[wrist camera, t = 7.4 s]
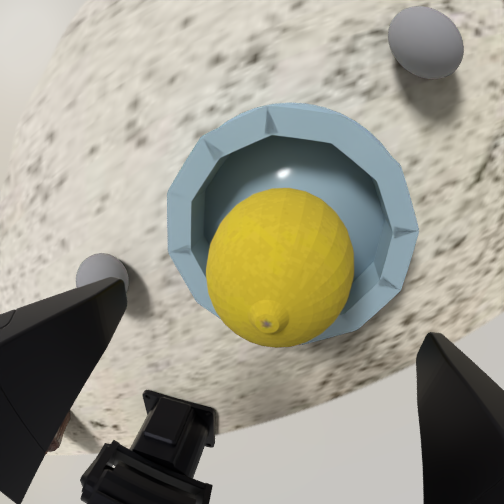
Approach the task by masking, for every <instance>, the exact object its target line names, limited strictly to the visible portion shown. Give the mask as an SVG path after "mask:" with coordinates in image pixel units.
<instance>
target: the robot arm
mask: <svg viewBox="0 0 504 504" xmlns="http://www.w3.org/2000/svg"><path fill="white" fill-rule="evenodd" d="M126 308H127V296H126V289H125V282H124V280H123V279H121V278H117V277H108V278H105V279H102V280H99V281H96V282H93V283H90V284H87V285H84V286H81V287H78V288H75V289H72V290H69V291H66V292H64V293H61V294H58V295H55V296H52V297H49V298H46V299H43V300H40V301H38V302H35V303H32V304H29V305H26V306H23V307H21V308H18V309H16V310H12V311H9V312H6V313H3V314H0V491H1V492H2V493H3V494H4V495H6V496H7V497H8V498H10V499H11V500H12V501H14V502H15V503H16V504H21V502H22V500H23V498H24V496H25V494H26V492H27V490H28V488H29V486H30V484H31V482H32V479H33V478H34V476H35V474H36V472H37V470H38V468H39V466H40V464H41V462H42V460H43V458H44V456H45V454H46V453H45V452H47V450H48V448H49V446H50V445H51V443H52V441H53V439H54V437H55V435H56V433H57V432H58V430H59V428H60V426H61V424H62V423H63V421H64V419H65V417H66V415H67V414H68V412H69V410H70V408H71V407H72V405H73V403H74V401H75V400H76V398H77V396H78V395H79V393H80V391H81V390H82V388H83V386H84V384H85V383H86V381H87V379H88V378H89V376H90V374H91V373H92V371H93V369H94V368H95V366H96V365H97V363H98V361H99V360H100V358H101V356H102V355H103V353H104V352H105V350H106V348H107V346H108V344H109V343H110V341H111V339H112V337H113V334H114V332H115V330H116V328H117V326H118V324H119V322H120V320H121V318H122V316H123V314H124V312H125V310H126ZM416 371H417V405H418V416H419V425H420V435H421V448H422V462H423V492H424V493H423V494H424V504H504V390H503V389H502V388H500V387H499V386H498V385H497V384H496V383H495V382H494V381H493V380H492V379H491V378H490V377H489V376H488V375H487V374H486V373H485V372H483V371H482V370H481V369H480V368H479V367H478V366H477V365H476V364H475V363H474V362H473V361H472V360H471V359H469V358H468V357H467V356H466V355H465V354H464V353H463V352H461V350H459V349H458V348H457V347H456V346H455V345H454V344H453V343H452V342H451V341H449V340H448V339H447V338H446V337H445V336H444V335H443V334H441V333H434V332H430V333H428V334H427V335H426V337H425V339H424V341H423V343H422V345H421V347H420V349H419V351H418V354H417V357H416ZM143 399H144V403H145V407H146V411H147V417H146V419H145V421H144V423H143V425H142V427H141V429H140V431H139V432H138V434H137V436H136V438H135V440H134V442H133V444H132V446H131V448H130V449H128V448H126V447H124V446H122V445H120V443H119V442H117V441H115V440H113V442H112V443H111V444H107V443H105V444H104V446H103V447H102V449H101V451H100V453H99V454H98V456H97V457H96V459H95V460H94V461H93V463H92V464H91V465H90V466H89V468H88V469H87V470H86V471H85V473H84V474H83V475H82V477H81V479H80V481H81V484H82V486H83V488H82V492H83V493H82V496H81V500H82V501H83V502H85V503H87V504H209V501H210V495H211V490H212V485H211V484H208V483H203V482H200V481H198V480H195V479H193V477H194V474H195V471H196V468H197V466H198V463H199V460H200V457H201V455H202V452H203V449H204V446H206V447H214V444H215V411H214V410H213V409H212V408H210V407H206V406H202V405H198V404H194V403H190V402H186V401H183V400H179V399H176V398H172V397H169V396H165V395H162V394H159V393H155V392H152V391H149V390H145V391H144V393H143ZM113 465H114V466H115V468H113V467H112V466H113Z"/></svg>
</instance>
